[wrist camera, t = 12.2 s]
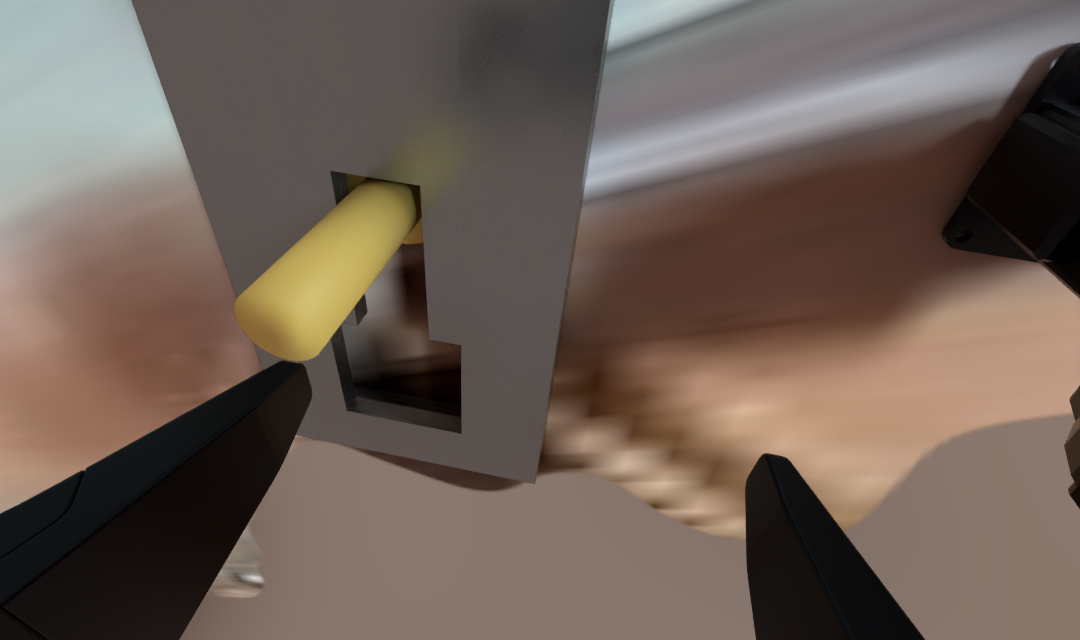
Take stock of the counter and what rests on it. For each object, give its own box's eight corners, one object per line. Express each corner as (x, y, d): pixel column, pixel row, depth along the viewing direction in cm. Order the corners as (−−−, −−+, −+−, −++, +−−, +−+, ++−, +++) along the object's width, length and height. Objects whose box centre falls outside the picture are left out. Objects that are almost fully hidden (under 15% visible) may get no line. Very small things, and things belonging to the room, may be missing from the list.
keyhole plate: (616, -13, 15) (610, 0, 13) (543, 439, 29) (534, 483, 27) (184, -71, 16) (107, -68, 14) (313, 393, 30) (285, 432, 28)
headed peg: (460, 137, 19) (343, 275, 12) (460, 235, 22) (365, 396, 14) (353, 120, 19) (175, 244, 12) (366, 219, 22) (227, 368, 15)
